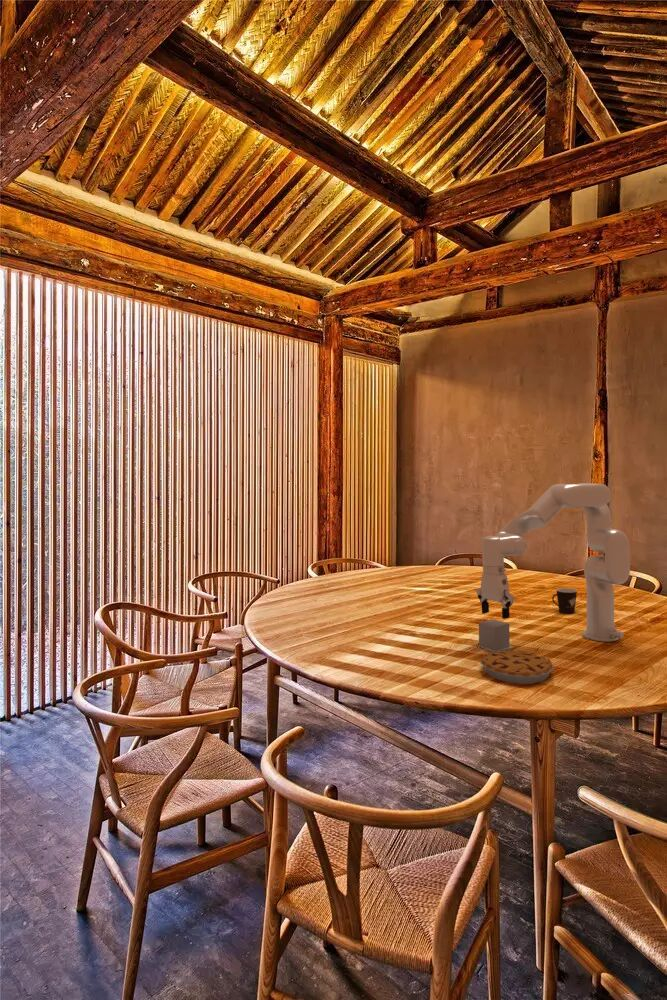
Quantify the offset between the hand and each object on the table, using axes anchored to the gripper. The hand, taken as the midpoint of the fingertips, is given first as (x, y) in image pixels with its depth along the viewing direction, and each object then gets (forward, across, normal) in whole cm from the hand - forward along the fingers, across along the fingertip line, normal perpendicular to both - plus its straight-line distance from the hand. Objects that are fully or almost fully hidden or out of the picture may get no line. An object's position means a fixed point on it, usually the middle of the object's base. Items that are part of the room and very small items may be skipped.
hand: (495, 615), depth 199 cm
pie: (+12, -22, +15) cm, 29 cm away
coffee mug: (+14, +16, -61) cm, 64 cm away
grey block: (+12, 0, +1) cm, 12 cm away
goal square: (+12, 0, +1) cm, 12 cm away
